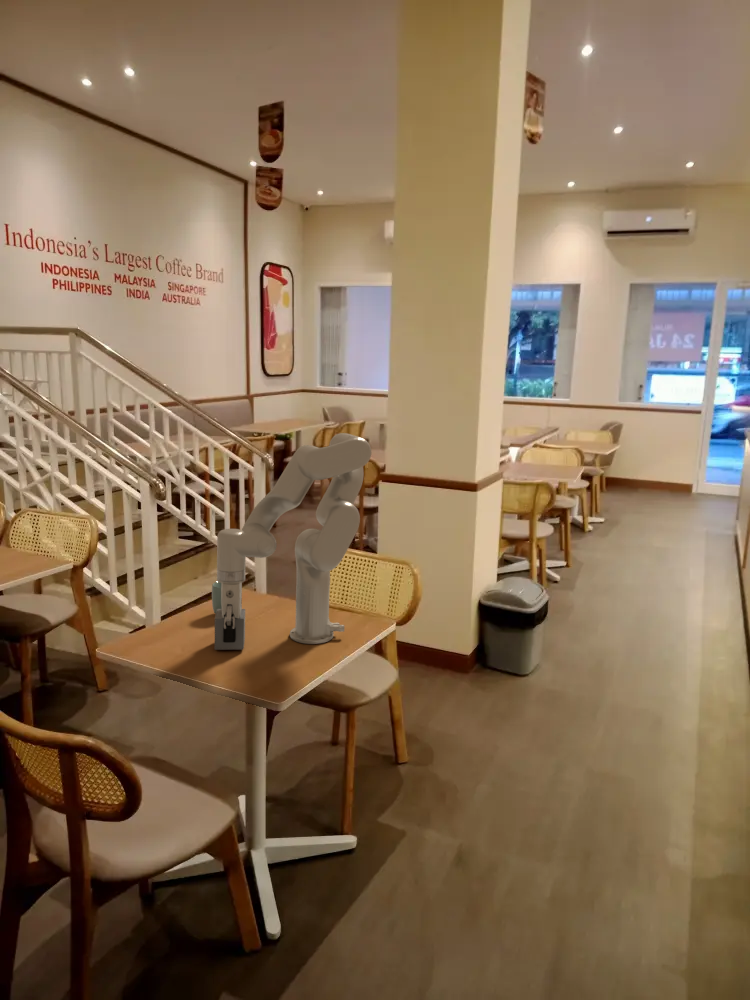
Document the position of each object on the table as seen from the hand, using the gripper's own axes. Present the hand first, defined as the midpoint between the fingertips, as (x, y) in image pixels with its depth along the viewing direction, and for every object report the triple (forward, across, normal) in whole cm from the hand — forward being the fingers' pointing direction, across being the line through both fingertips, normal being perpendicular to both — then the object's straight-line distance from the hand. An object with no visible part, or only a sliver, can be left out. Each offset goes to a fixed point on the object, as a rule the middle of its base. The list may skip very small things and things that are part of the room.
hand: (230, 635), depth 196 cm
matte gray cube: (+2, 0, 0) cm, 2 cm away
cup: (+3, +25, +3) cm, 26 cm away
